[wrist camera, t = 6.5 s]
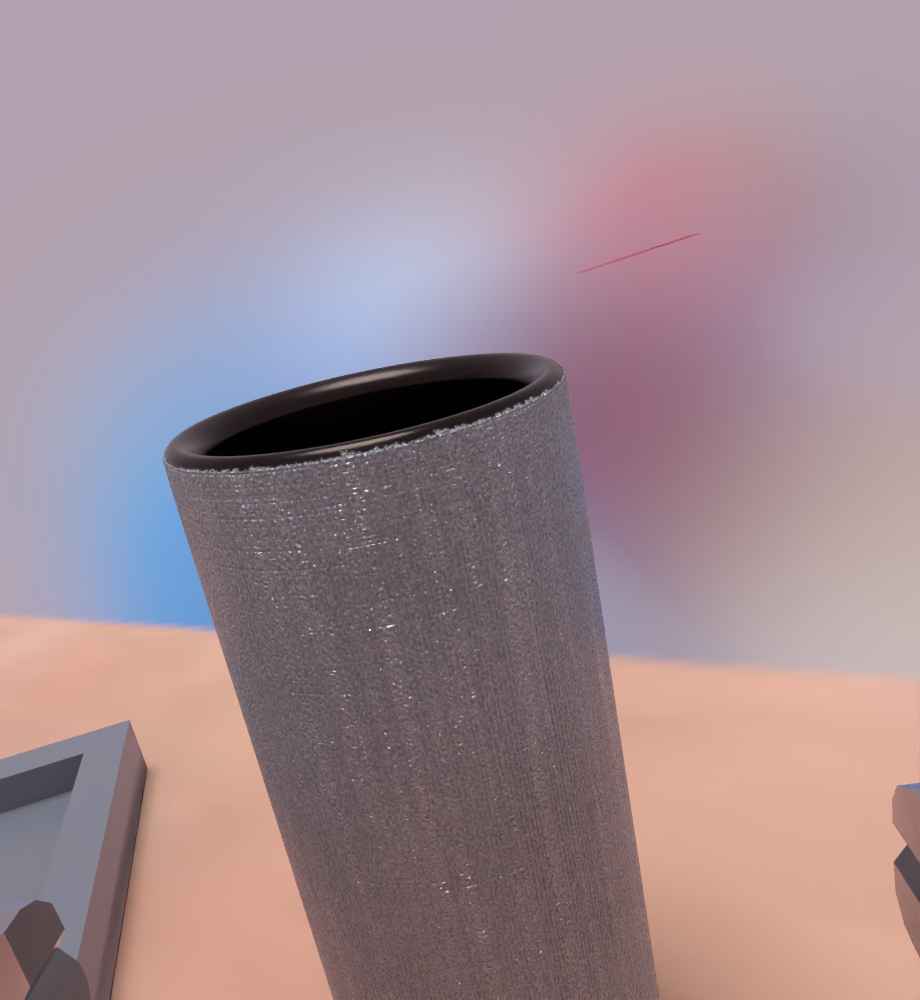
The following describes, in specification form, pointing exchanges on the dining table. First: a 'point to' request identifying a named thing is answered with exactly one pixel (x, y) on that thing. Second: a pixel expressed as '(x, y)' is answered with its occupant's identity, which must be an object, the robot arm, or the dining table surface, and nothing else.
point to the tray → (75, 838)
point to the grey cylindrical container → (426, 676)
